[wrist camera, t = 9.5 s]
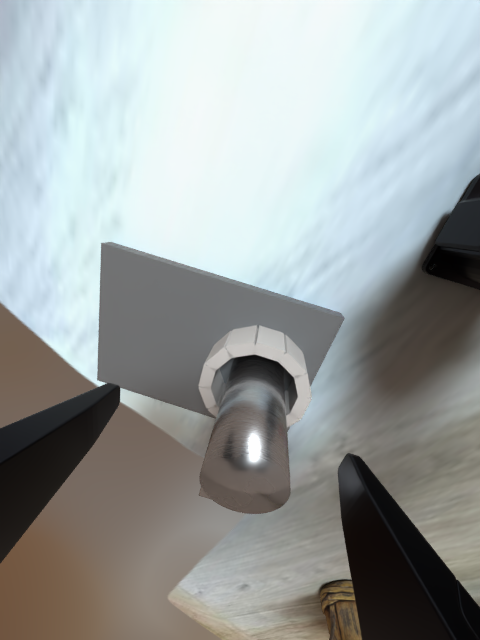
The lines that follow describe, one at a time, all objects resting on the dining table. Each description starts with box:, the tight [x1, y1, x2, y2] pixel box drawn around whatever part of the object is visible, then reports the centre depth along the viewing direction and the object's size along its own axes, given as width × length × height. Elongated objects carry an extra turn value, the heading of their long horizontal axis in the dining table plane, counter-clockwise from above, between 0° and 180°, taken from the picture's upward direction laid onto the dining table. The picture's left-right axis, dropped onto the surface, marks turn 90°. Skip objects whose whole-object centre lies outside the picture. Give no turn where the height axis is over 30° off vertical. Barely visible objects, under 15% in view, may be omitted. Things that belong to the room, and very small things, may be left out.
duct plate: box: [97, 242, 344, 432], centre depth 20 cm, size 20×14×4 cm
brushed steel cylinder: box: [199, 354, 290, 514], centre depth 17 cm, size 9×5×10 cm, turn 165°
